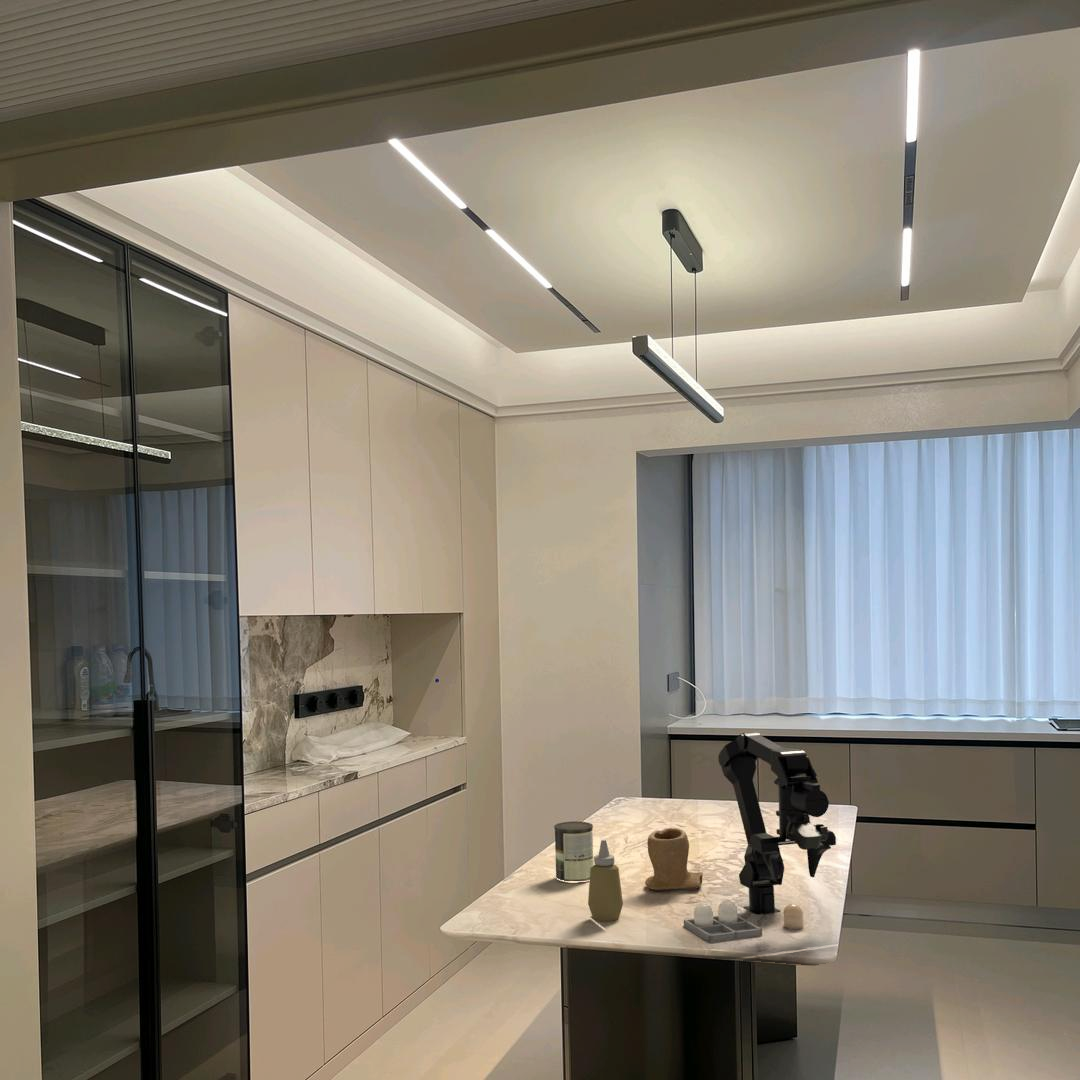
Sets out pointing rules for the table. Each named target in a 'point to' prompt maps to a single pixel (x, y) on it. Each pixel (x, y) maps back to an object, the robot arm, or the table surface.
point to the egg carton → (724, 930)
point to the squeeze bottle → (605, 887)
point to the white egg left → (727, 912)
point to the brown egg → (793, 917)
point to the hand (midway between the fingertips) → (793, 879)
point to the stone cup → (671, 861)
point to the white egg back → (703, 915)
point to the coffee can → (573, 850)
